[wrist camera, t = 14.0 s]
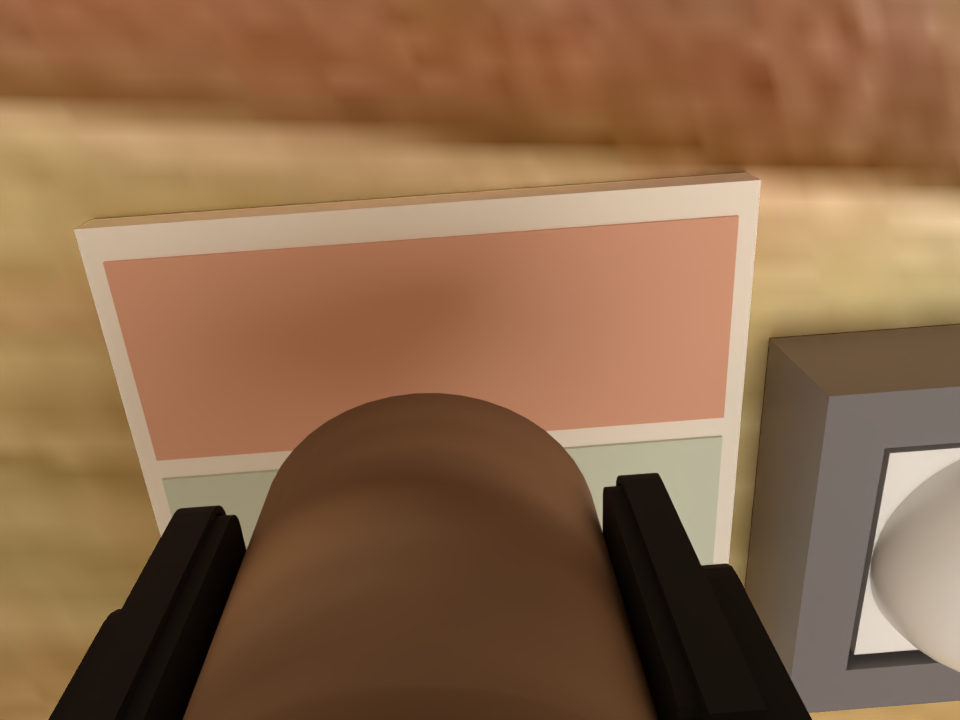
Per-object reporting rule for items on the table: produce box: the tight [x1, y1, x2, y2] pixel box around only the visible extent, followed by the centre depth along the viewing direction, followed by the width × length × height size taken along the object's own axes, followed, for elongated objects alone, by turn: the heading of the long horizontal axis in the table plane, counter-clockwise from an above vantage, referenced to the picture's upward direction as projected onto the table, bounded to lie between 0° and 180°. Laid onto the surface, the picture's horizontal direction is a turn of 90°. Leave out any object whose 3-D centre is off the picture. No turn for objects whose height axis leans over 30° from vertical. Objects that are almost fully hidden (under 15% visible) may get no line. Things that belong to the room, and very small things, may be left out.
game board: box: [74, 172, 761, 565], centre depth 22 cm, size 16×19×1 cm
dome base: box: [745, 324, 960, 713], centre depth 21 cm, size 10×10×4 cm
